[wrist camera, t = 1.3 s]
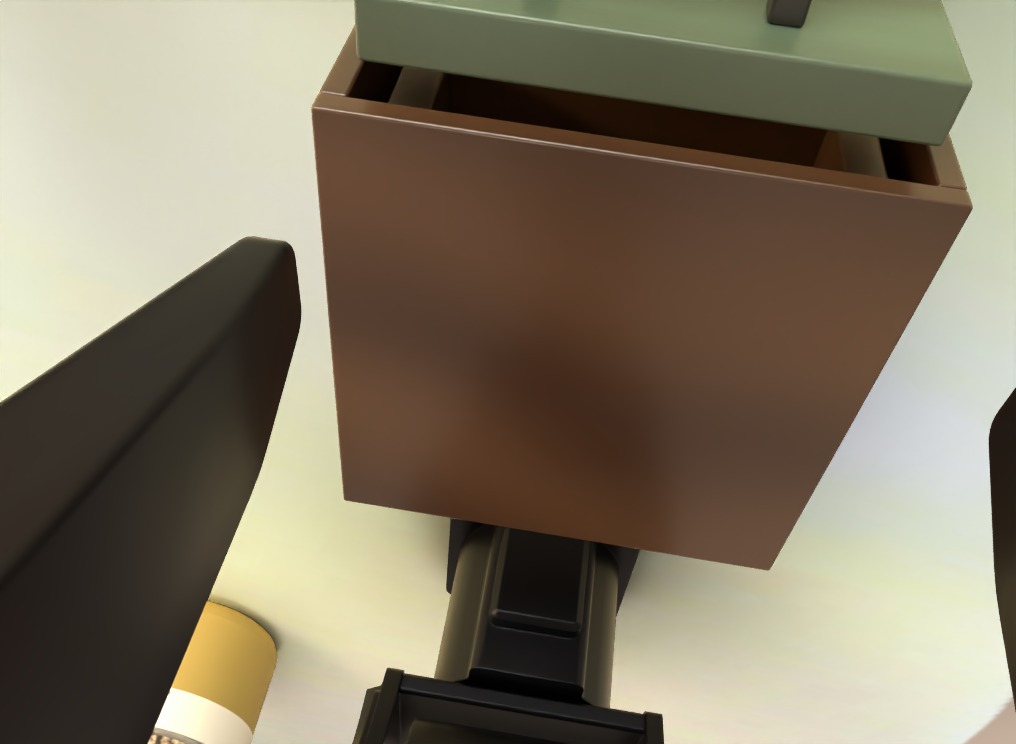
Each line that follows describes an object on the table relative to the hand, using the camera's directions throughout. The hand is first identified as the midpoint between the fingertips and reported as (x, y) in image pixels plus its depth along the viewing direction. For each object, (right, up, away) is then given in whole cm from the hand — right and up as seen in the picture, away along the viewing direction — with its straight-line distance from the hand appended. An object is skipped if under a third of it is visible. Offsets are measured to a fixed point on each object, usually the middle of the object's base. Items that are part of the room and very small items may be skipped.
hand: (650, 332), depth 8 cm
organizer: (+1, +3, +14) cm, 15 cm away
